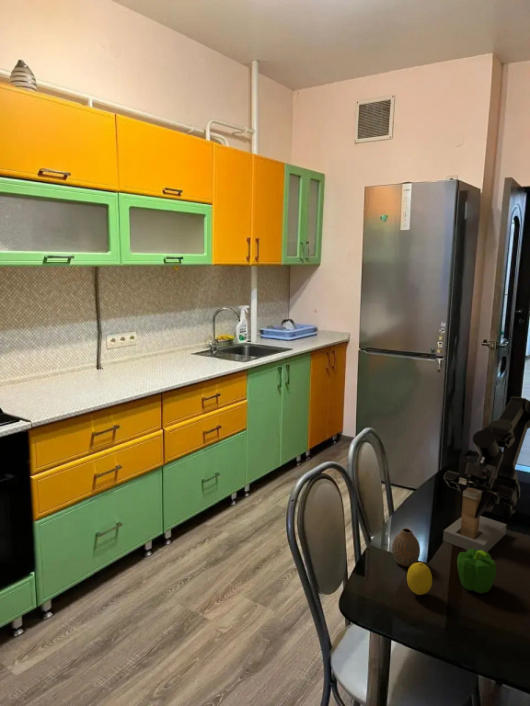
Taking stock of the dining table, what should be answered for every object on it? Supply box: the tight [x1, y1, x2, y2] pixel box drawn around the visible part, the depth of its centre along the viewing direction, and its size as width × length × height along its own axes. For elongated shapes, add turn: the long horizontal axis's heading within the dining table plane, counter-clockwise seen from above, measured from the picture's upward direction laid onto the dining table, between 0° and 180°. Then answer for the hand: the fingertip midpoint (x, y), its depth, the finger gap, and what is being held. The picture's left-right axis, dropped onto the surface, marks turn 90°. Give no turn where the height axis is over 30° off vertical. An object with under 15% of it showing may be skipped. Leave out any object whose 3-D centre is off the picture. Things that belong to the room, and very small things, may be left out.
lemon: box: [406, 561, 433, 596], centre depth 118 cm, size 6×6×8 cm
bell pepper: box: [456, 548, 497, 594], centre depth 121 cm, size 8×8×10 cm
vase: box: [391, 527, 421, 568], centre depth 132 cm, size 7×7×9 cm
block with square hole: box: [442, 515, 507, 553], centre depth 145 cm, size 16×11×3 cm
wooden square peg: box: [461, 488, 483, 539], centre depth 141 cm, size 4×4×13 cm
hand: (468, 515), depth 140 cm, fingers closed on wooden square peg, 3 cm apart
